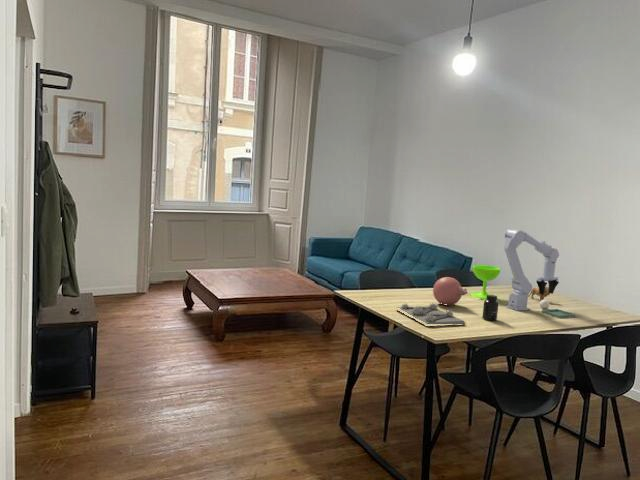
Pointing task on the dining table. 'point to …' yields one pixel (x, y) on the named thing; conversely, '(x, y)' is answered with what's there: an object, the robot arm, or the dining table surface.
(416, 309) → the grey bumpy flat slab
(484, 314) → the supplement bottle
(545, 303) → the ball
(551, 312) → the tray
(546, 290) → the lion figurine
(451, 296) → the balloon
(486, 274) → the wineglass
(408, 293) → the dining table surface
